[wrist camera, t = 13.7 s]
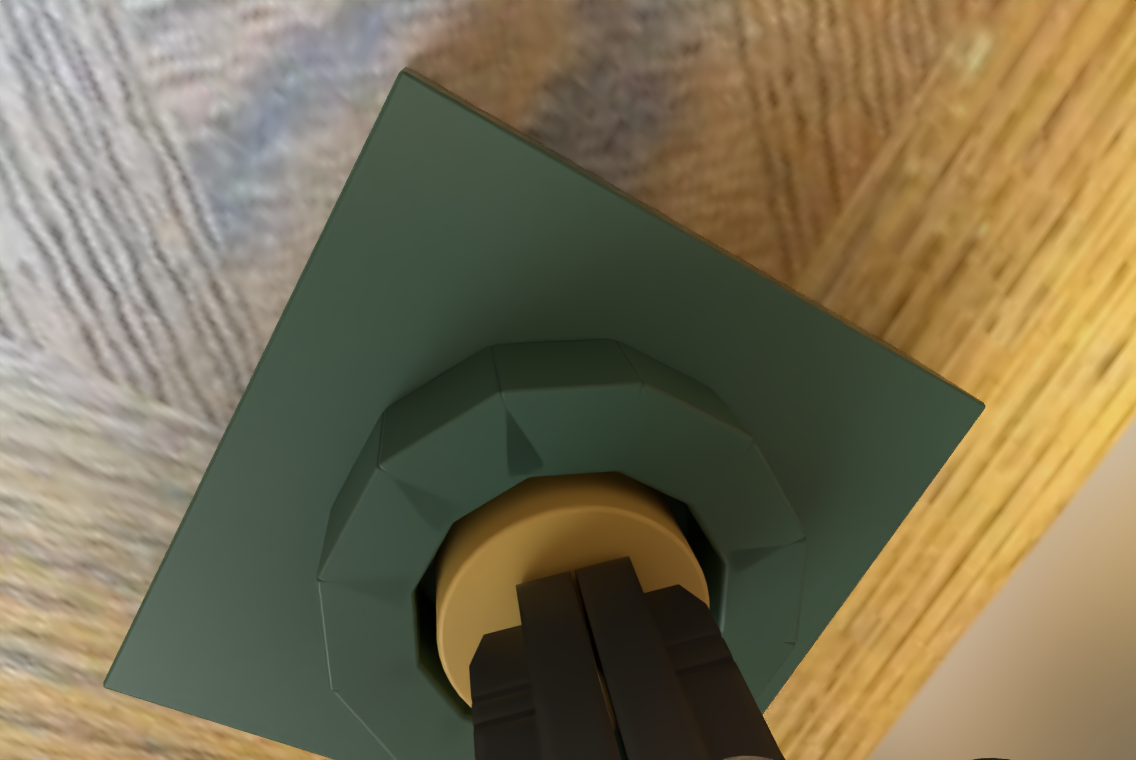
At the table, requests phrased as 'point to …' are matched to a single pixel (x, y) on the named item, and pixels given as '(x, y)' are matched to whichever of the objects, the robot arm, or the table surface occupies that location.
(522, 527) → the bell button
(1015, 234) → the table surface
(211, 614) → the green button base
